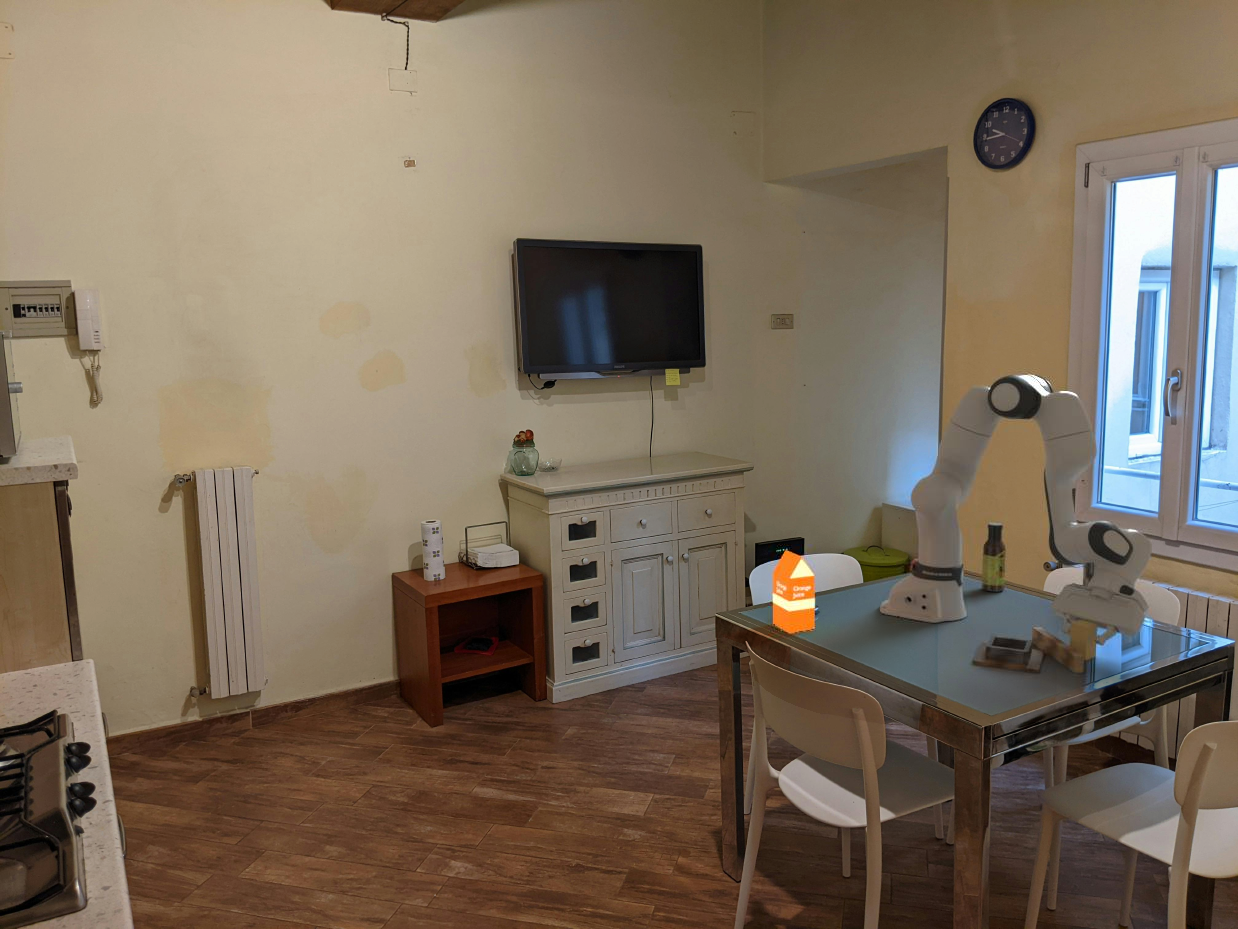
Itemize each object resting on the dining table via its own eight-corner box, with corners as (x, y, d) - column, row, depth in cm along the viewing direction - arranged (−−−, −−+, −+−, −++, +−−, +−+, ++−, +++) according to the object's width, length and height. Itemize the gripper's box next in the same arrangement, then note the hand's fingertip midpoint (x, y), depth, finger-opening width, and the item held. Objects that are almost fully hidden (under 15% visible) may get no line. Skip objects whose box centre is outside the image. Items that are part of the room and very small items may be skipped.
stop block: (1069, 655, 214) (1070, 622, 213) (1079, 652, 216) (1081, 619, 215) (1085, 660, 211) (1086, 627, 210) (1095, 657, 213) (1097, 624, 212)
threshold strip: (1031, 643, 223) (1032, 627, 223) (1040, 642, 223) (1040, 627, 223) (1074, 672, 203) (1075, 655, 203) (1083, 672, 203) (1084, 655, 203)
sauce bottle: (1003, 593, 265) (1005, 526, 262) (980, 591, 268) (982, 525, 265) (1005, 588, 270) (1007, 522, 268) (983, 585, 274) (985, 521, 271)
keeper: (972, 664, 211) (972, 648, 210) (981, 645, 223) (981, 630, 222) (1038, 673, 204) (1039, 657, 203) (1044, 653, 216) (1044, 638, 215)
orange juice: (788, 633, 235) (788, 558, 233) (772, 624, 244) (772, 551, 241) (815, 629, 238) (815, 555, 235) (798, 620, 246) (798, 548, 243)
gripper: (1062, 574, 224) (1036, 619, 220) (1146, 593, 206) (1118, 643, 203) (1072, 589, 226) (1046, 634, 223) (1156, 608, 209) (1129, 658, 205)
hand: (1081, 638), depth 213 cm, fingers open, 7 cm apart
